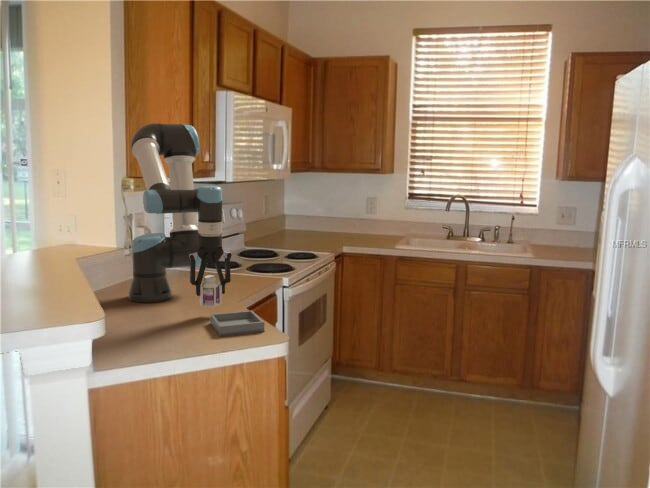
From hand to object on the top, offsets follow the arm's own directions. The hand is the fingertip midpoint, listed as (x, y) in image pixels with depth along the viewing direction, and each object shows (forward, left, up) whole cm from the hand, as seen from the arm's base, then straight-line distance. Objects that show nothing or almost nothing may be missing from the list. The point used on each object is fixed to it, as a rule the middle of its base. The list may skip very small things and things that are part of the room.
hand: (210, 304), depth 184 cm
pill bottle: (0, 0, -1) cm, 1 cm away
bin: (+5, -15, -4) cm, 16 cm away
